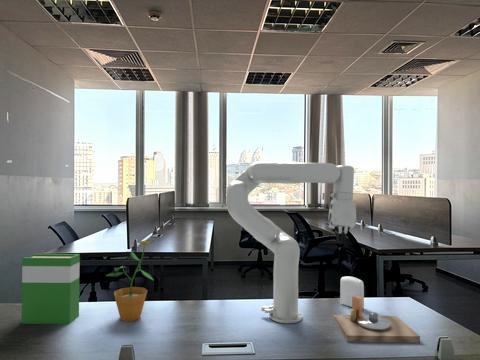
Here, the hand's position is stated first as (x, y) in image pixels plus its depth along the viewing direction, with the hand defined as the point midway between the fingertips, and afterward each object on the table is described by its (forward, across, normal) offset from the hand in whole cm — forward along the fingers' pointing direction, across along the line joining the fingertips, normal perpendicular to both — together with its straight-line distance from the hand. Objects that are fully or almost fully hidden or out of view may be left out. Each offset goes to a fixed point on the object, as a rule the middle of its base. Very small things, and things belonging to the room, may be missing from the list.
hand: (340, 243), depth 138 cm
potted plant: (+32, -79, +17) cm, 87 cm away
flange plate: (+26, +5, -14) cm, 30 cm away
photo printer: (+29, +12, +9) cm, 32 cm away
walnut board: (+28, +6, -15) cm, 33 cm away
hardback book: (+34, -108, +22) cm, 115 cm away
